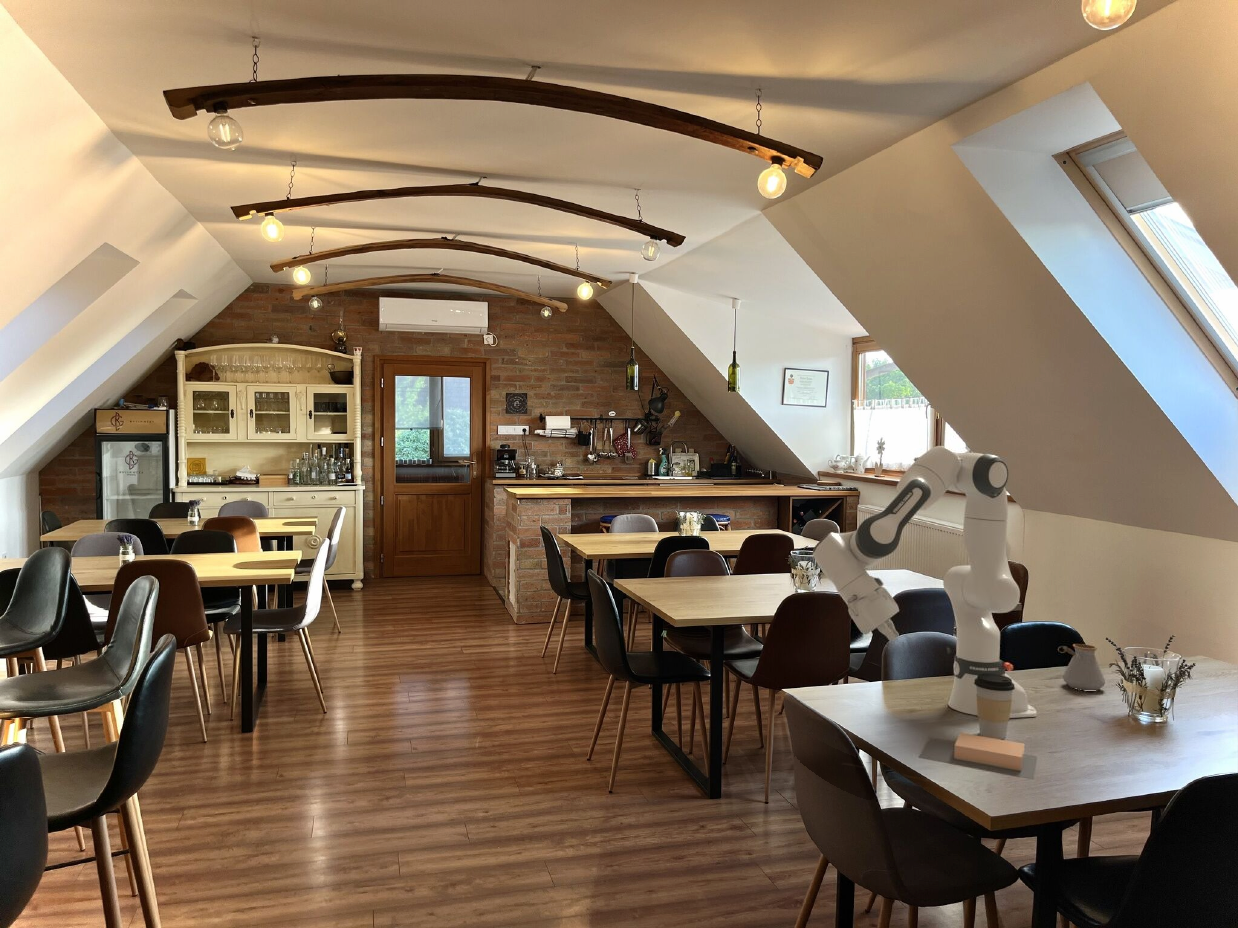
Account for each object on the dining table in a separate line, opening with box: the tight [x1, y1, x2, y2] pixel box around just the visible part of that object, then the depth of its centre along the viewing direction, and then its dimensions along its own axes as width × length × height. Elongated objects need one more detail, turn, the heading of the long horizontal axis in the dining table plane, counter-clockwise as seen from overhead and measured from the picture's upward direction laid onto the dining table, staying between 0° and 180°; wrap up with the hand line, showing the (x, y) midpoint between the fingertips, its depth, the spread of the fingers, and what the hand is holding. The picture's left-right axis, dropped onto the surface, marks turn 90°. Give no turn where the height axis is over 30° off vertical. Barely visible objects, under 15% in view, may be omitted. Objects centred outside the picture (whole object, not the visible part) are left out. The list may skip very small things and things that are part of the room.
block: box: [954, 732, 1026, 771], centre depth 199 cm, size 3×10×14 cm
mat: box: [918, 736, 1038, 780], centre depth 200 cm, size 24×16×1 cm, turn 61°
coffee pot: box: [1057, 643, 1106, 690], centre depth 259 cm, size 21×12×15 cm, turn 128°
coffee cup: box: [974, 673, 1015, 740], centre depth 216 cm, size 9×9×15 cm
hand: (895, 638), depth 211 cm, fingers closed
